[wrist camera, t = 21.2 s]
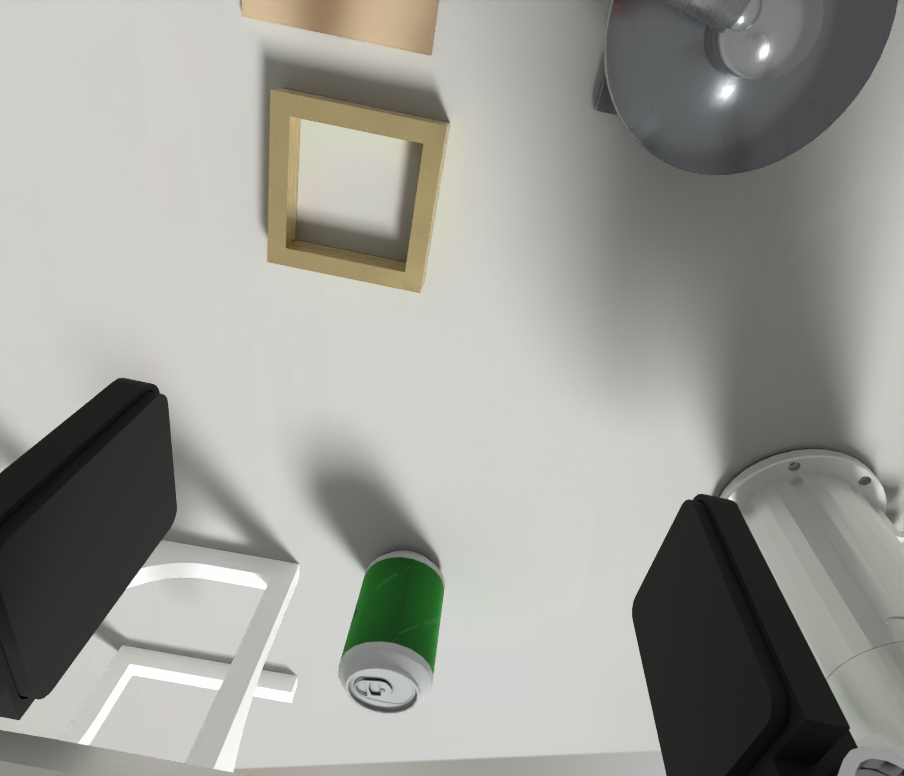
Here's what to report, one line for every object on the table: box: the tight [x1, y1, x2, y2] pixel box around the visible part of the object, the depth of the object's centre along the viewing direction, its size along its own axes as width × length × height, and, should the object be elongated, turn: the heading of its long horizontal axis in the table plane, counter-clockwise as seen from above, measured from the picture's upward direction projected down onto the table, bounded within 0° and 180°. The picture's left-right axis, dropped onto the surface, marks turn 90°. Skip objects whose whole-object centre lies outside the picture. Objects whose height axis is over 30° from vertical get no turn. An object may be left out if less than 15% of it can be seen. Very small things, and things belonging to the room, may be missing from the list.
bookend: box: [58, 540, 299, 772], centre depth 52 cm, size 20×20×20 cm
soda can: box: [339, 550, 445, 714], centre depth 50 cm, size 8×8×12 cm
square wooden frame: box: [267, 88, 450, 293], centre depth 37 cm, size 10×10×2 cm
